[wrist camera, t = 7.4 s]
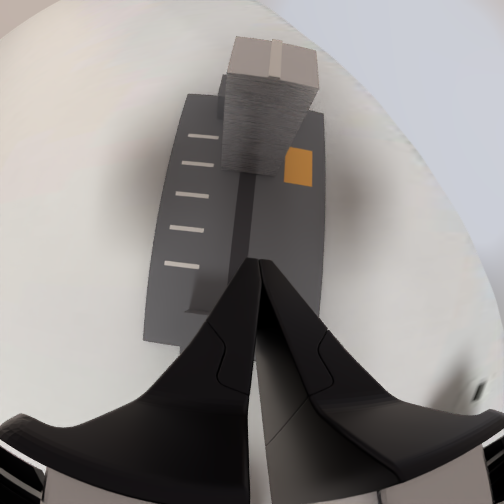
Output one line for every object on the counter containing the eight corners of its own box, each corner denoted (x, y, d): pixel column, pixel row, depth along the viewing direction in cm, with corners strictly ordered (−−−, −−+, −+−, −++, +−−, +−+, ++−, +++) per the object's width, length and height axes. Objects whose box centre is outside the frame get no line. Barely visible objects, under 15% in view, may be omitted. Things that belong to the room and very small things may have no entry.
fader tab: (275, 176, 20) (320, 86, 10) (221, 169, 19) (226, 69, 9) (277, 143, 20) (316, 48, 10) (226, 136, 20) (236, 34, 10)
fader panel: (312, 354, 19) (330, 365, 15) (144, 339, 17) (129, 348, 14) (321, 116, 22) (335, 93, 18) (188, 96, 21) (185, 70, 17)
